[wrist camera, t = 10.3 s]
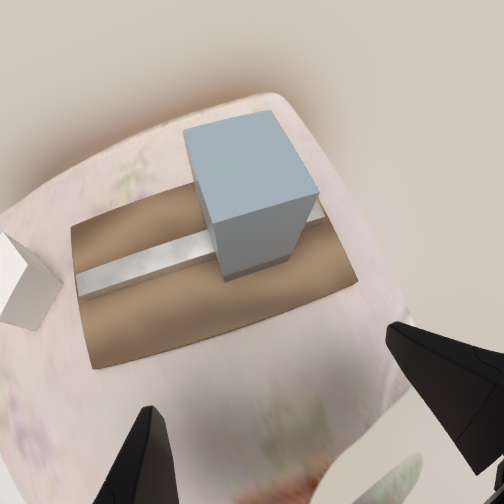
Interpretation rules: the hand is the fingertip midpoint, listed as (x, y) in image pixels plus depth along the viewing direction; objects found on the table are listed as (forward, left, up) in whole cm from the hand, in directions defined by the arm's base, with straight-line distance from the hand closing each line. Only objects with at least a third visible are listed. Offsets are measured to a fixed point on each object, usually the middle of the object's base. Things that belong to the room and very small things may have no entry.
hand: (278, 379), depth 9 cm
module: (+8, -7, -12) cm, 16 cm away
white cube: (+20, +12, -14) cm, 27 cm away
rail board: (+10, -3, -13) cm, 17 cm away
